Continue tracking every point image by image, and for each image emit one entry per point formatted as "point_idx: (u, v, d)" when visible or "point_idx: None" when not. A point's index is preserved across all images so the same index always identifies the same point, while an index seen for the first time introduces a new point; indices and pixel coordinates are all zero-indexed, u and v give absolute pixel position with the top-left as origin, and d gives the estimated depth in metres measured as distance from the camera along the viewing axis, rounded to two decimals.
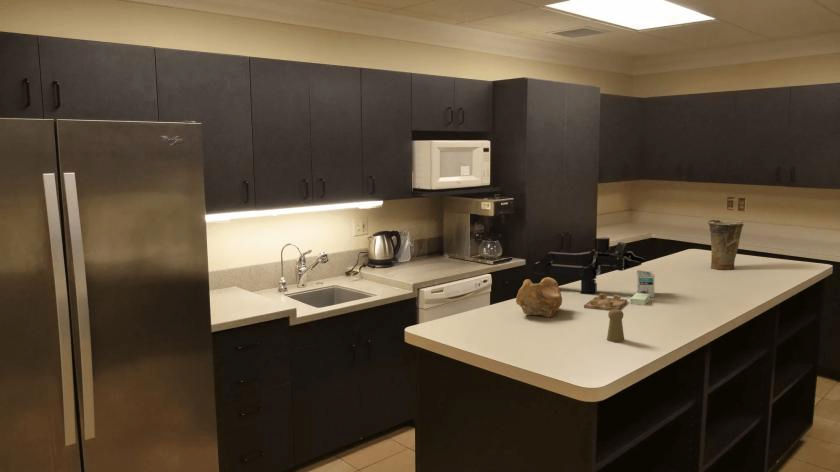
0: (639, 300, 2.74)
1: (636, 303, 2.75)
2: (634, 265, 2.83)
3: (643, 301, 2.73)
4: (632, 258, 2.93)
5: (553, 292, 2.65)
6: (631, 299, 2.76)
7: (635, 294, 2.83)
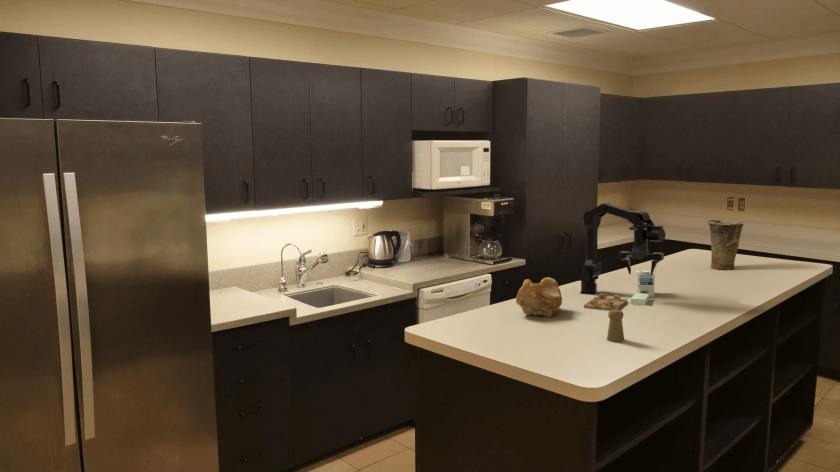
0: (640, 300, 2.74)
1: (637, 303, 2.75)
2: None
3: (644, 301, 2.73)
4: (652, 261, 2.75)
5: (553, 292, 2.66)
6: (632, 299, 2.76)
7: (635, 294, 2.83)
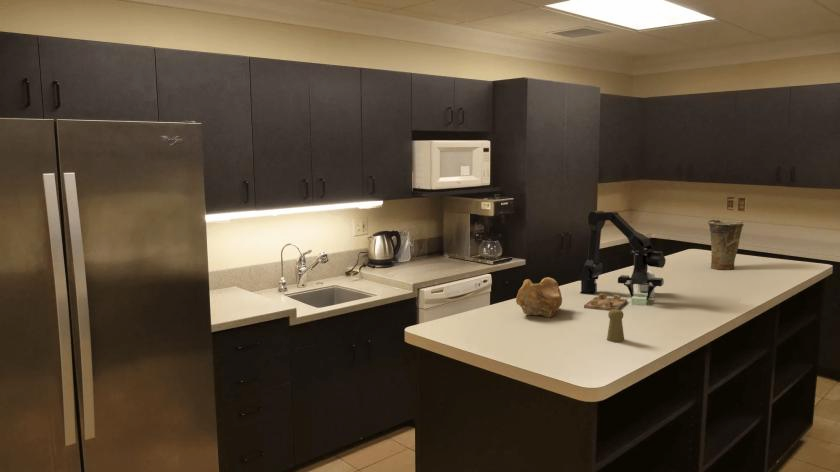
0: (640, 299, 2.74)
1: (637, 303, 2.75)
2: None
3: (644, 300, 2.73)
4: None
5: (553, 292, 2.65)
6: (632, 299, 2.75)
7: (634, 294, 2.83)
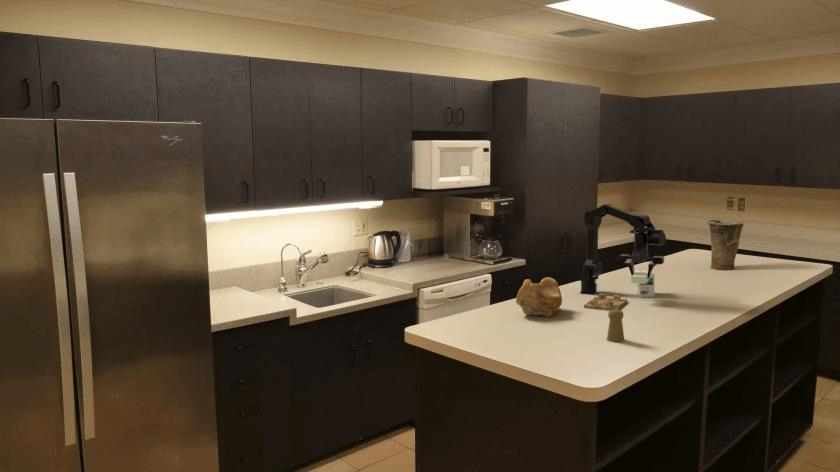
0: (640, 278, 2.73)
1: (637, 281, 2.74)
2: None
3: (644, 279, 2.72)
4: None
5: (553, 292, 2.65)
6: (632, 277, 2.74)
7: (635, 272, 2.82)
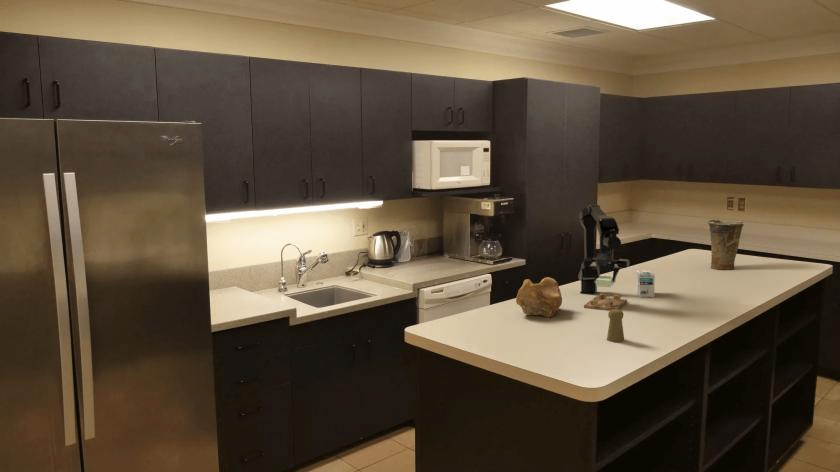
0: (605, 281, 2.69)
1: (602, 284, 2.70)
2: None
3: (609, 282, 2.68)
4: None
5: (553, 292, 2.66)
6: (597, 280, 2.71)
7: (601, 275, 2.78)
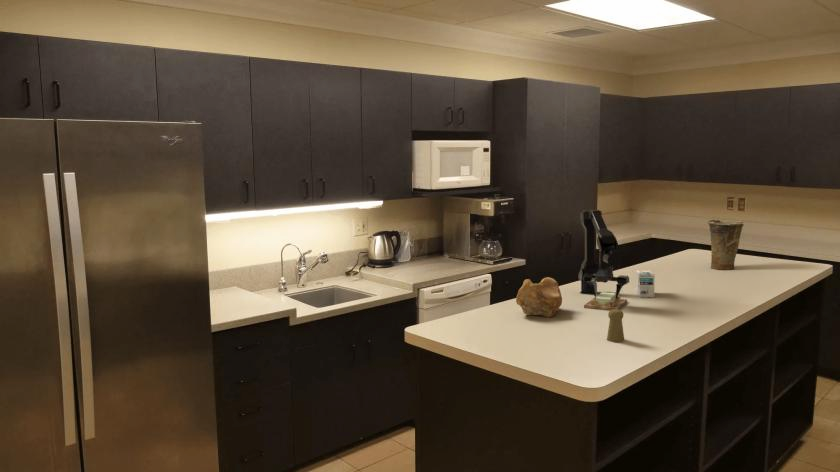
0: (605, 300, 2.70)
1: (602, 303, 2.71)
2: None
3: (609, 301, 2.69)
4: None
5: (553, 292, 2.65)
6: (597, 299, 2.72)
7: (601, 294, 2.79)
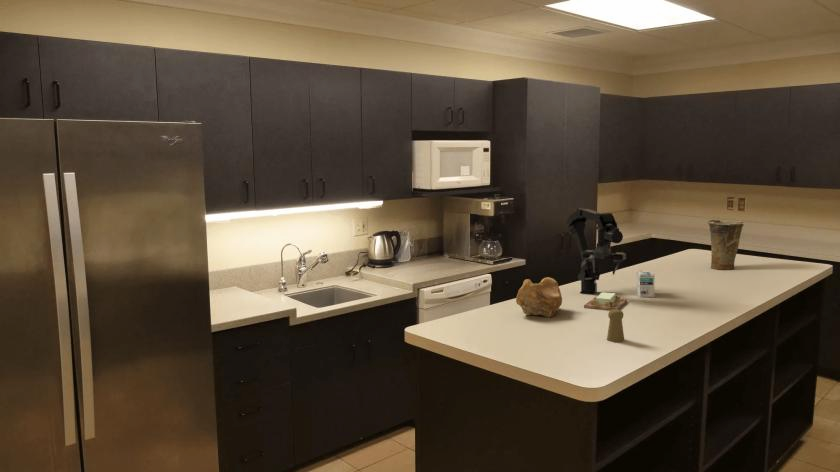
0: (605, 300, 2.70)
1: (602, 303, 2.71)
2: None
3: (609, 301, 2.69)
4: None
5: (553, 292, 2.66)
6: (597, 299, 2.72)
7: (601, 294, 2.79)
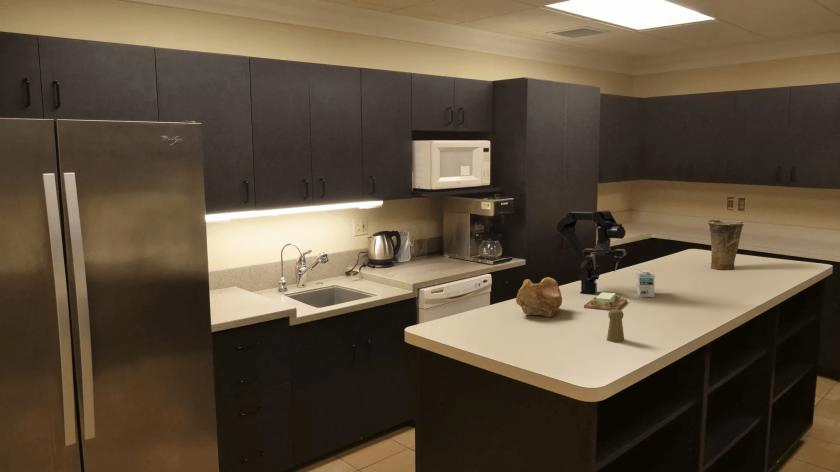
0: (605, 300, 2.70)
1: (602, 303, 2.71)
2: None
3: (609, 301, 2.69)
4: None
5: (553, 292, 2.65)
6: (597, 299, 2.72)
7: (601, 294, 2.79)
